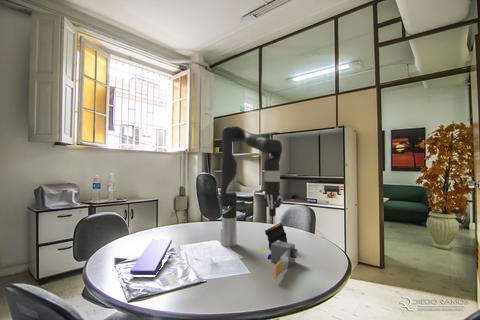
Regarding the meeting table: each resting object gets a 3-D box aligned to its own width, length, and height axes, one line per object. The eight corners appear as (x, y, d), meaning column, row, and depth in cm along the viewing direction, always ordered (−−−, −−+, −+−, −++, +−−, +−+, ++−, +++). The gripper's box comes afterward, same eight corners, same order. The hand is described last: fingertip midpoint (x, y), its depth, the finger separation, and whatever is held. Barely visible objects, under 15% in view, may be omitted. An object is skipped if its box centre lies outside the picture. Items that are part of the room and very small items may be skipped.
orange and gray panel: (287, 265, 114) (287, 249, 114) (289, 266, 113) (289, 249, 113) (273, 281, 98) (273, 262, 98) (276, 282, 97) (275, 263, 97)
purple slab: (172, 255, 131) (172, 237, 131) (156, 279, 103) (156, 256, 103) (152, 255, 131) (152, 238, 131) (129, 279, 103) (130, 256, 103)
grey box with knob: (271, 261, 120) (270, 242, 120) (277, 257, 125) (277, 239, 126) (293, 267, 112) (293, 247, 113) (299, 263, 118) (299, 243, 118)
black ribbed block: (293, 246, 137) (282, 223, 138) (273, 256, 137) (262, 233, 137) (291, 244, 141) (280, 222, 142) (272, 254, 141) (261, 232, 141)
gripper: (257, 180, 115) (257, 215, 115) (277, 181, 105) (277, 219, 105) (267, 179, 120) (267, 213, 119) (287, 180, 110) (288, 217, 109)
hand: (272, 216), depth 112 cm, fingers closed
